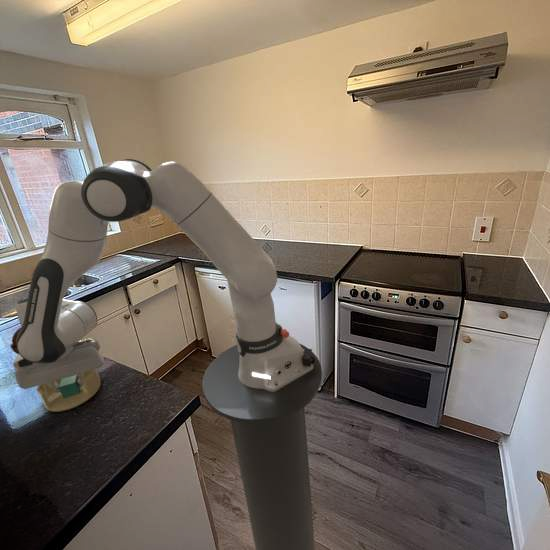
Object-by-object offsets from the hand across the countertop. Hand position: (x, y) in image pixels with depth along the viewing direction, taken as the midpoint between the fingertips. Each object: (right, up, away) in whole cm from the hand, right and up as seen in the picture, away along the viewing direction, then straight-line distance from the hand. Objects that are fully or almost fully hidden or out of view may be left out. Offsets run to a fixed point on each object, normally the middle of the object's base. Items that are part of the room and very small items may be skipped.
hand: (71, 387), depth 87 cm
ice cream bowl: (-22, +2, +18) cm, 29 cm away
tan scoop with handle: (-1, -1, +4) cm, 4 cm away
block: (0, -1, 0) cm, 2 cm away
